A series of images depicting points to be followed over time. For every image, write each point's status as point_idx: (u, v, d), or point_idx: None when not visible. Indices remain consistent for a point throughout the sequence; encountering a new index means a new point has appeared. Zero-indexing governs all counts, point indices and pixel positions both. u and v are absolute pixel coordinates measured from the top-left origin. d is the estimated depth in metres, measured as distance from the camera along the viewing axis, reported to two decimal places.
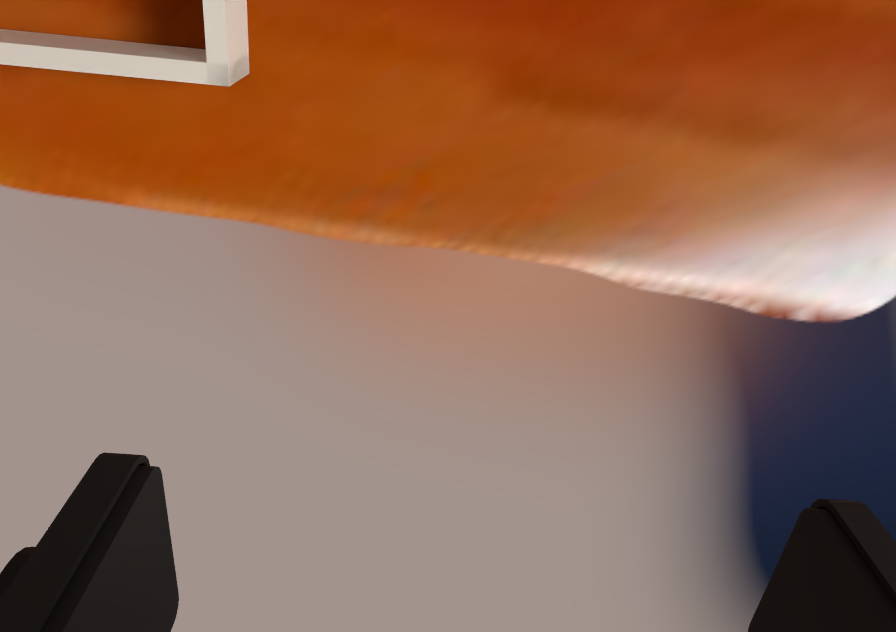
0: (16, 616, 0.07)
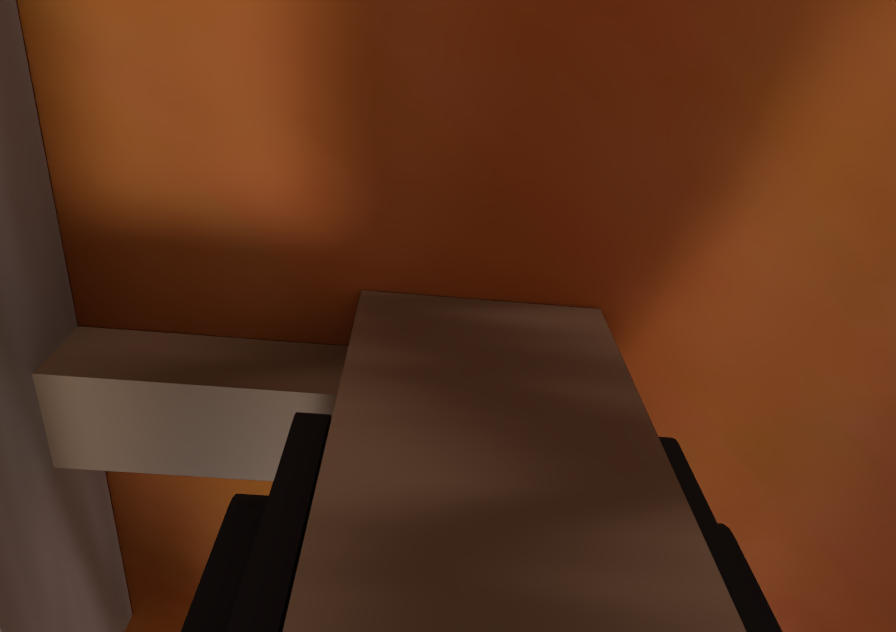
0: (278, 539, 0.08)
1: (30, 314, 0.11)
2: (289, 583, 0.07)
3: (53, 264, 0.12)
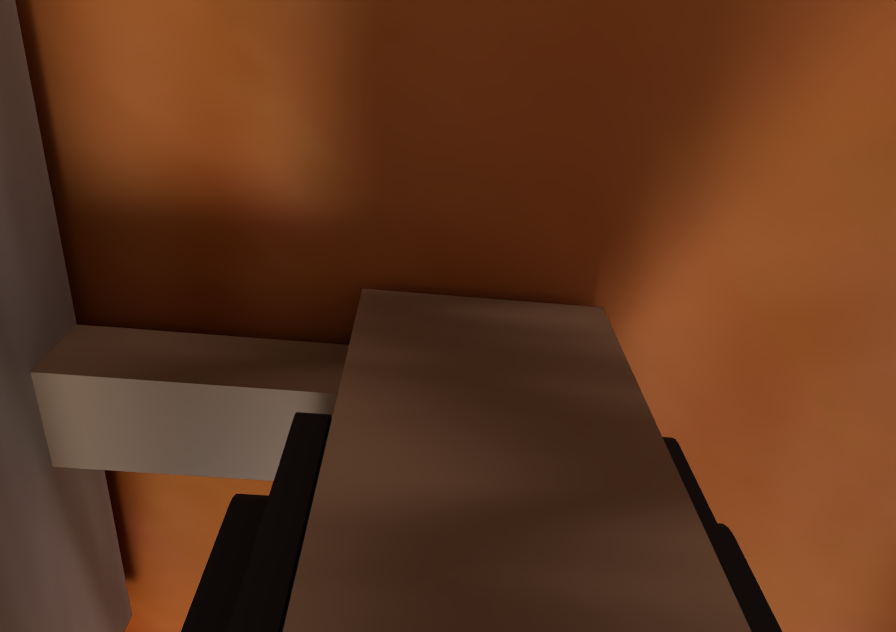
0: (278, 539, 0.08)
1: (29, 312, 0.11)
2: (289, 583, 0.07)
3: (52, 262, 0.11)
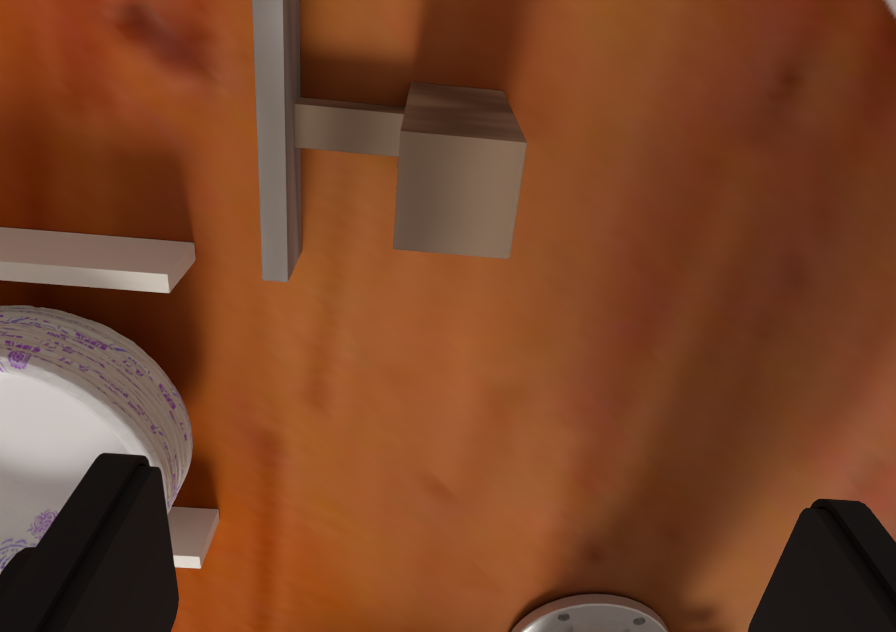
0: (16, 616, 0.07)
1: (295, 81, 0.31)
2: None
3: (299, 67, 0.31)
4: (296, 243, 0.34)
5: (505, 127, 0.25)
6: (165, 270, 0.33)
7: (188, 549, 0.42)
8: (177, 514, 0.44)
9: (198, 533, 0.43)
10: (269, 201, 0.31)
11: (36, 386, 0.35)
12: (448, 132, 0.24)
